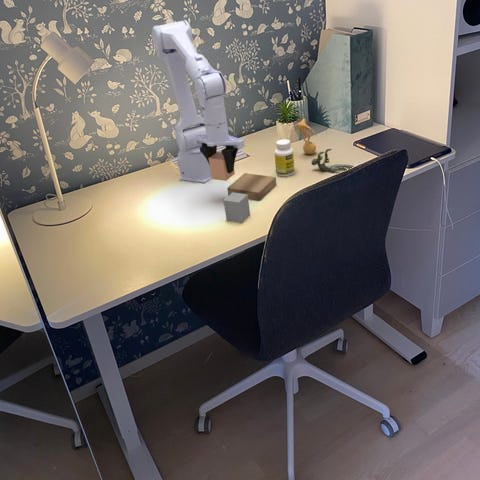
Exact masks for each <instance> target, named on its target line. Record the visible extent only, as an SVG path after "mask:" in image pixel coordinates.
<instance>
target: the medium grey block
mask: <svg viewBox="0 0 480 480" xmlns="http://www.w3.org/2000/svg"><path fill="white" fill-rule="evenodd" d="M223 206H224V212H225V218H226V221H227V222H233V223H238V224H243V223H244V222H245V221H246V220H247V219H248V218H249V217H250V216H251V211H250V210H251V209H250V202H249V199H248V194H241V193H234V192H232V193H231V194H230V195H229V196H228V195H227V196H226V197H225V198H224V199H223Z"/></svg>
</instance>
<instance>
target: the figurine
mask: <svg viewBox="0 0 480 480" xmlns="http://www.w3.org/2000/svg"><path fill="white" fill-rule="evenodd" d="M297 127H298V128H299V129H300V133H301V134H302V135H303V137H302V138H303V142H305V143H304V144H303V147H302V148H303V149H302V150H303V152H304V153H305V154H307V155H312V154H314V153H315V152H316V149H317V145H316V144H315V143H314V142H313V141H311V140H310V139H311V136H312V134H311V133H310V132H312V133H313V134H314V135H315V136H316V137H317V136H318V134H317V133H316V132H315V131H314V130H313V129H312V127H311V126H309V125H307V123H306V118H302V120H301V121H300V122H298V123H296V124H294V131H295V132H297V130H298V129H297ZM307 129H308V130H307ZM309 130H310V132H309ZM306 138H307V140H306Z"/></svg>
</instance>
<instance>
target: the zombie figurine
mask: <svg viewBox="0 0 480 480" xmlns="http://www.w3.org/2000/svg"><path fill="white" fill-rule="evenodd" d="M331 150H332V148H327V149H326V150H325V151H319V152H318V154H317V158H314V159H312V160H311V165H312V166H317V167H318V169H319V171H320V172H323V173H332V174H333V173H334V172H336V171H342V170H343V171H345V170H347V169H348V170H351V169H350V168H352V167H354V166H353V165H351V164H341V163H340V164H338V163H336V164H335V163H334V164H333V165H331V166H330V167H328V166H327V165H326V164H330V158H329V157H328V152H330V151H331ZM323 154H324V156H323ZM322 160H323V162H322V163H321V161H322Z"/></svg>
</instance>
